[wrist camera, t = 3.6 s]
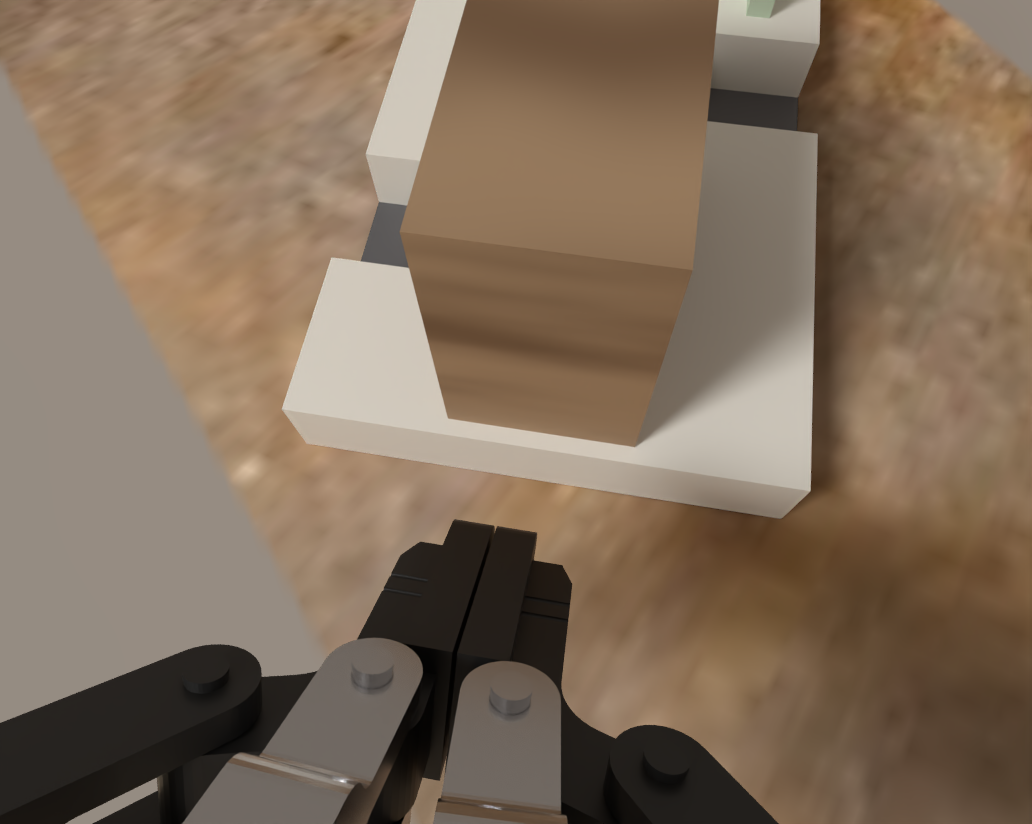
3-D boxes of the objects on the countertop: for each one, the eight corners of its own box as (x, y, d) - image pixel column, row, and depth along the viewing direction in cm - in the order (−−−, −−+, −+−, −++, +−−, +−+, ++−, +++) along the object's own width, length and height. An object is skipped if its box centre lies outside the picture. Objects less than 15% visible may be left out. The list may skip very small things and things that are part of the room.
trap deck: (781, 518, 22) (855, 447, 17) (306, 443, 23) (243, 356, 18) (800, -10, 30) (852, -161, 25) (456, -43, 32) (441, -193, 27)
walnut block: (635, 447, 20) (692, 270, 13) (448, 418, 20) (399, 231, 13) (670, 154, 24) (730, -110, 17) (513, 135, 24) (503, -129, 17)
